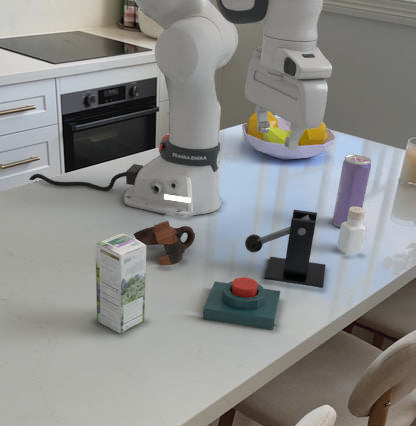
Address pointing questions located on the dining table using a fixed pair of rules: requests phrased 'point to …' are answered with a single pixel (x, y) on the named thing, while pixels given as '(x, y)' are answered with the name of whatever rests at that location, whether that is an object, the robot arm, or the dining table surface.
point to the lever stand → (298, 255)
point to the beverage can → (351, 186)
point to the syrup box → (120, 282)
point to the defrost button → (244, 287)
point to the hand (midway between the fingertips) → (276, 140)
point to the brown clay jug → (167, 240)
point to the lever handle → (266, 238)
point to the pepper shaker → (352, 232)
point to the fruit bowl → (278, 131)
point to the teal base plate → (242, 306)
